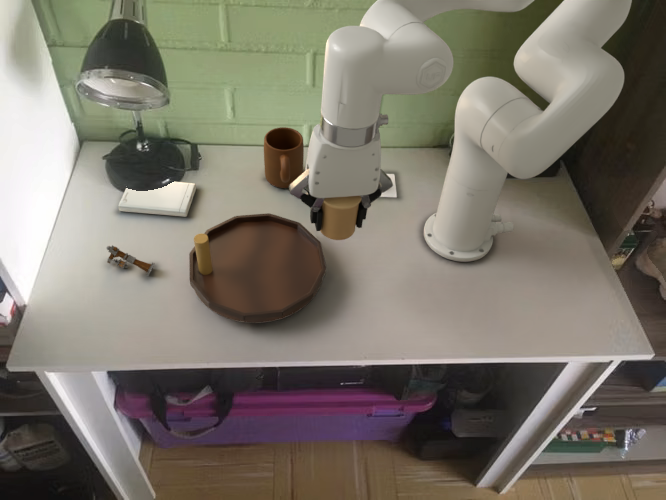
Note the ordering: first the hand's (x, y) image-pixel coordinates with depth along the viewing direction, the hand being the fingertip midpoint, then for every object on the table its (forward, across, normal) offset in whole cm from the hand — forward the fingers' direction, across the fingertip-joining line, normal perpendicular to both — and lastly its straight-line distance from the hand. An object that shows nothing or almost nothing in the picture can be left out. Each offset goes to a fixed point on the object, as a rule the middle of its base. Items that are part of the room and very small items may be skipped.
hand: (337, 222), depth 91 cm
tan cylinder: (+1, 0, 0) cm, 1 cm away
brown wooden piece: (+15, +33, -7) cm, 37 cm away
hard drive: (+15, +28, -24) cm, 40 cm away
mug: (+14, +4, -26) cm, 30 cm away
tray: (+12, +12, -3) cm, 17 cm away
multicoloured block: (+14, -14, -23) cm, 30 cm away
